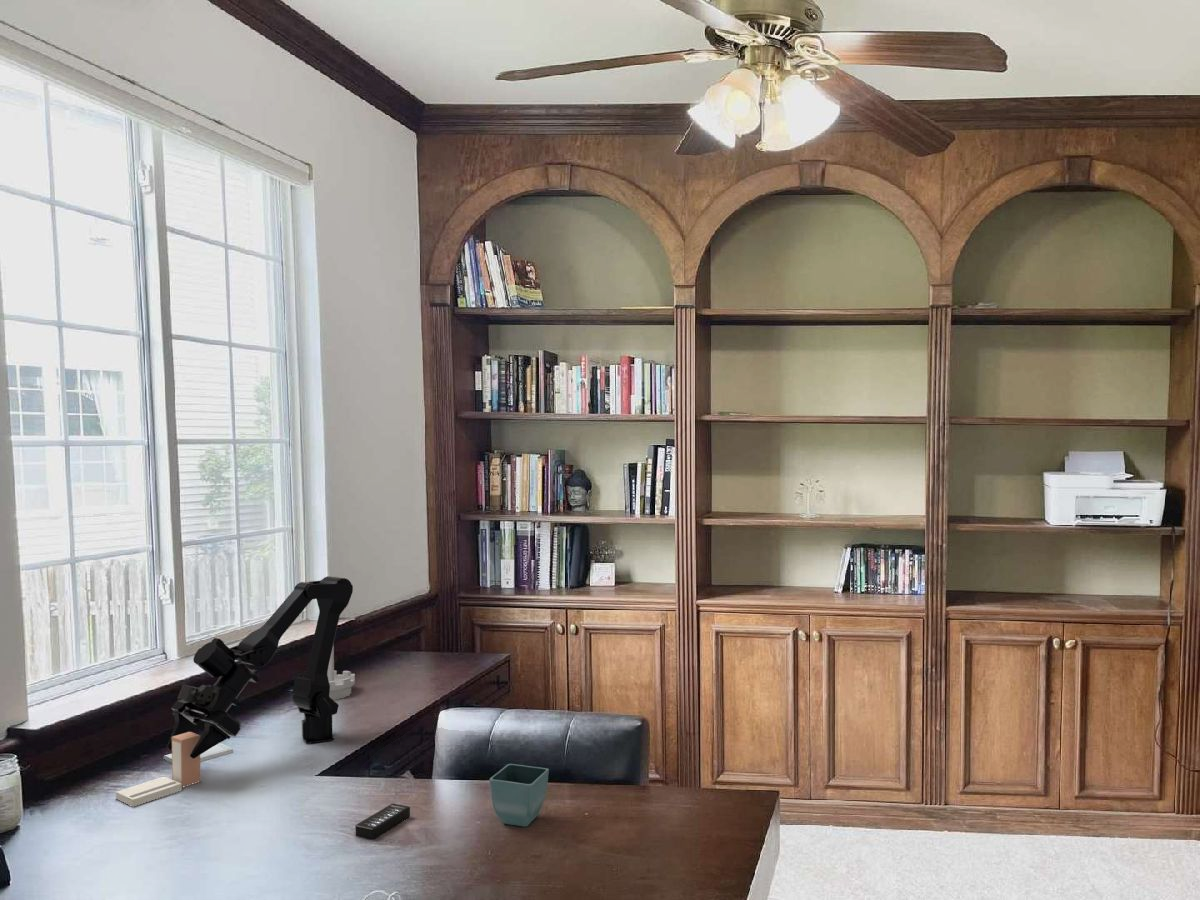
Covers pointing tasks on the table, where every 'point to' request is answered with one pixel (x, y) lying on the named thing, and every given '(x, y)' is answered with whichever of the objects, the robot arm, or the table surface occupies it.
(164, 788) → the striped cream block
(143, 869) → the table surface
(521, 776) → the flower pot
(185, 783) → the stub
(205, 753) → the hard drive
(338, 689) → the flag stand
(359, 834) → the multiport hub
